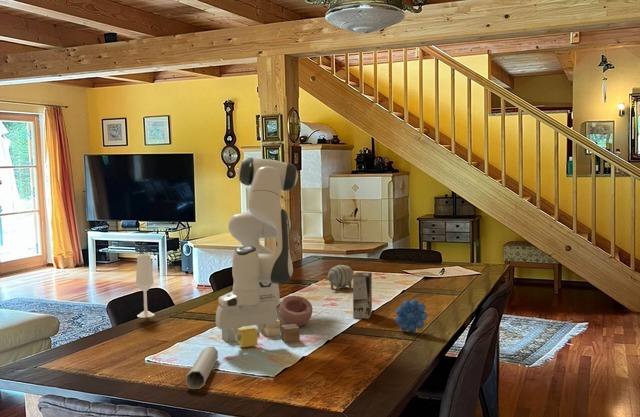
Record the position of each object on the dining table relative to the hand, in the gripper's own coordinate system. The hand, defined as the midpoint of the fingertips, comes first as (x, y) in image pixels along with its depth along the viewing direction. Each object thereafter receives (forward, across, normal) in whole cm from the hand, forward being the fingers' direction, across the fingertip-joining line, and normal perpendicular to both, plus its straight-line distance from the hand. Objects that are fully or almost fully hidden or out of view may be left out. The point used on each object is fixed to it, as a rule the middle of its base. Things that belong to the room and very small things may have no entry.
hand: (247, 338), depth 206 cm
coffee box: (+3, -53, -18) cm, 56 cm away
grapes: (+3, -57, +10) cm, 58 cm away
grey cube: (+3, +2, -11) cm, 11 cm away
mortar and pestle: (+3, -24, -16) cm, 29 cm away
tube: (+3, +19, +18) cm, 26 cm away
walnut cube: (+3, -15, 0) cm, 15 cm away
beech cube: (+3, -12, -11) cm, 16 cm away
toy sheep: (+4, -68, -66) cm, 95 cm away
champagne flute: (+3, +22, -58) cm, 62 cm away
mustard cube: (+2, 0, 0) cm, 2 cm away
